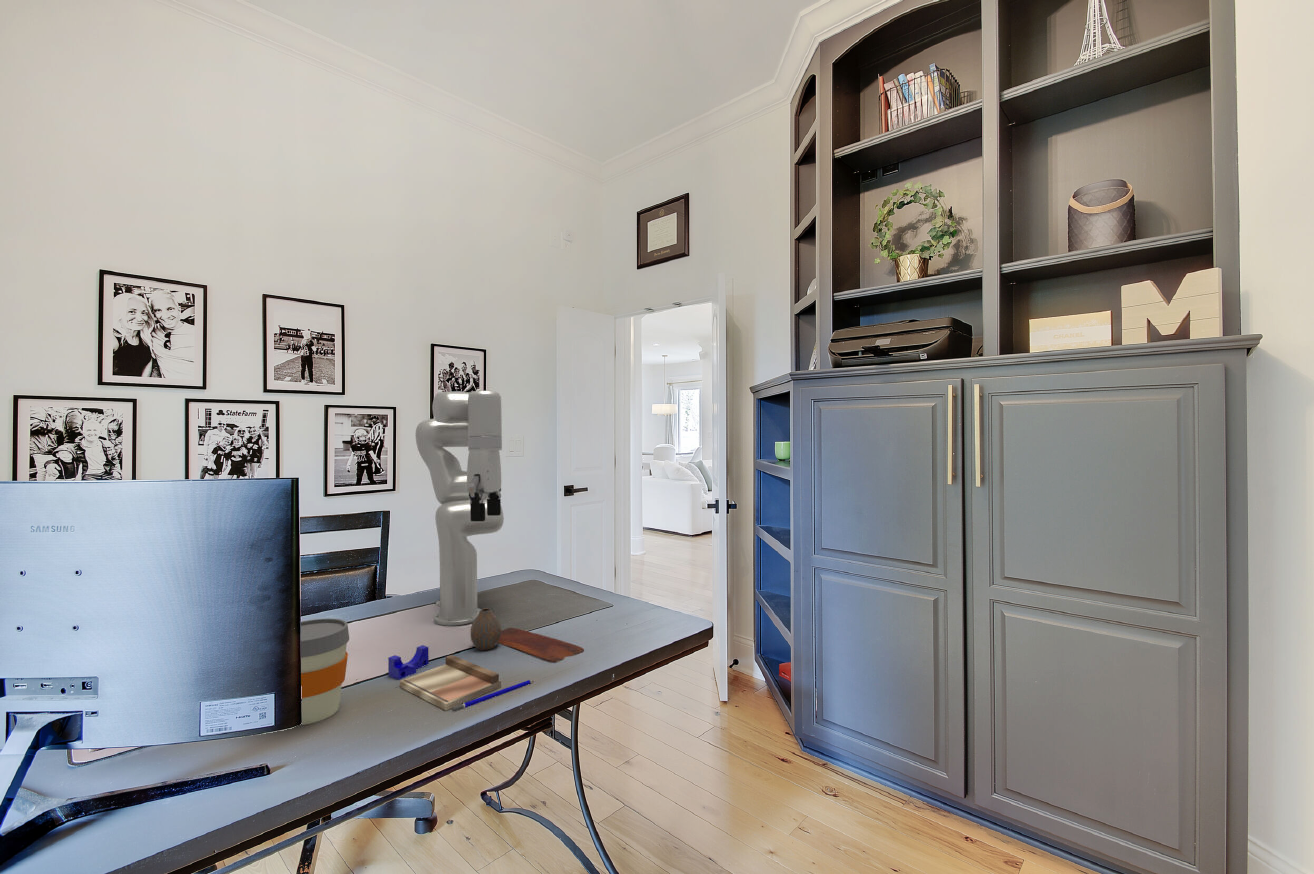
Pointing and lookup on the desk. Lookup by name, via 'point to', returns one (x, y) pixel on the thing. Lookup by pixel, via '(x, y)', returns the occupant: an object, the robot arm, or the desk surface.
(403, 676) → the cable holder
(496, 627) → the vase
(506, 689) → the pencil
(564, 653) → the wooden tablet
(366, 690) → the desk surface
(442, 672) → the maple board
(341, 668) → the reusable coffee cup
